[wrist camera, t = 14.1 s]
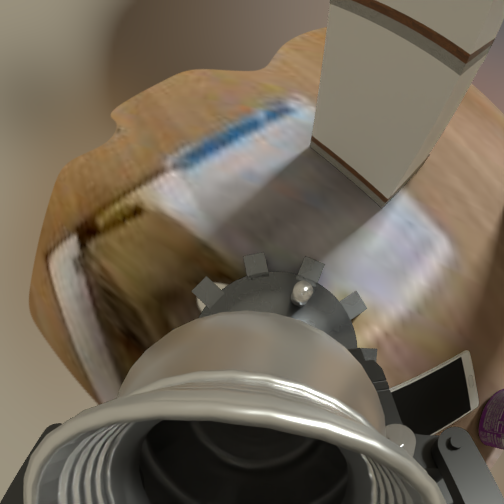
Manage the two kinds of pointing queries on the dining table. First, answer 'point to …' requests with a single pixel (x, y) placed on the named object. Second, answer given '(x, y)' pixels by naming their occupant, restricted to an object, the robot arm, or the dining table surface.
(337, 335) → the sprocket plate
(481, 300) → the dining table surface
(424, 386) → the smartphone
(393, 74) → the display case
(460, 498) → the robot arm
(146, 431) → the silver bottle
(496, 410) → the beverage can
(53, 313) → the dining table surface
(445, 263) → the dining table surface
